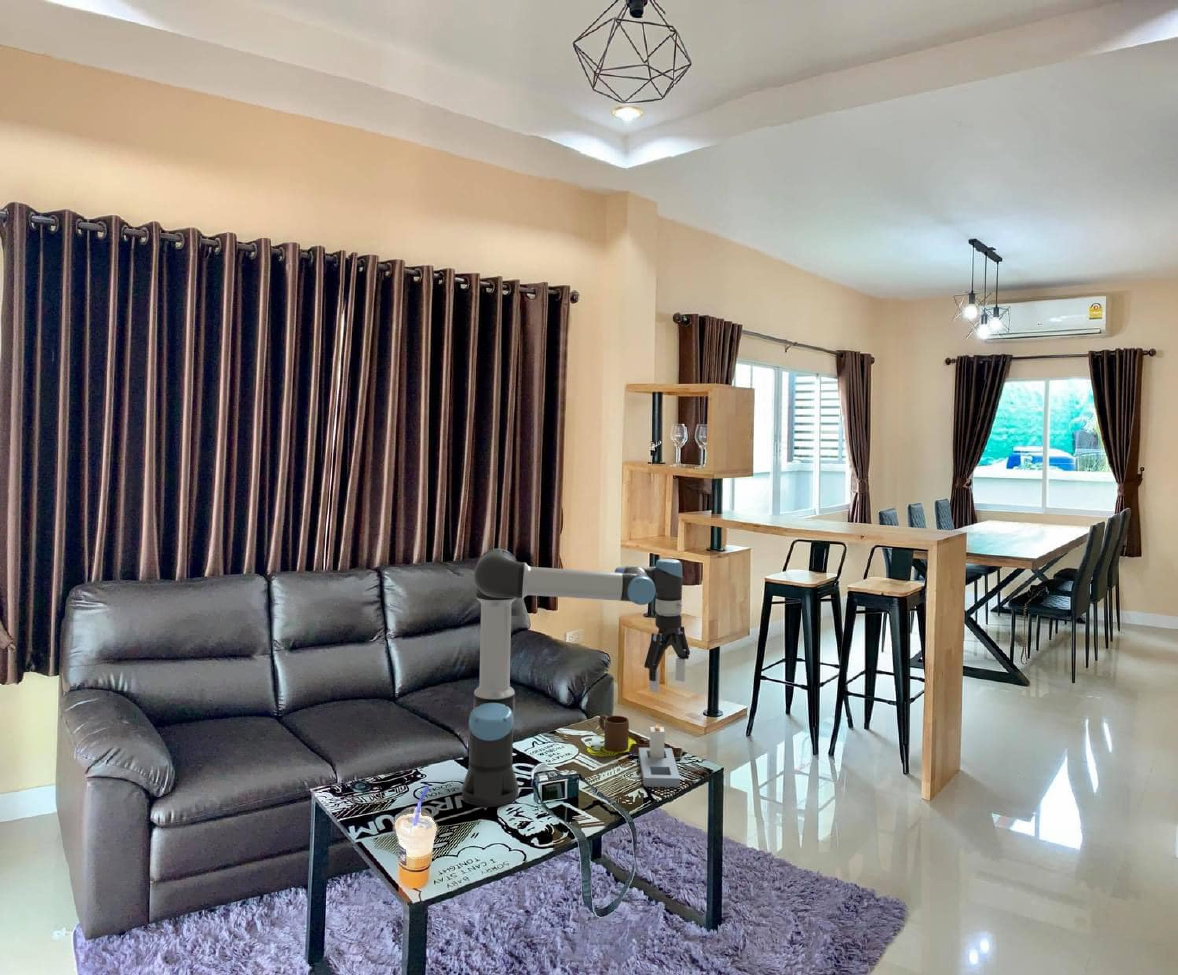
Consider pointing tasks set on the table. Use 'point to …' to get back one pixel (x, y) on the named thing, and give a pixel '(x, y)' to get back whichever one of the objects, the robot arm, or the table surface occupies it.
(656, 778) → the panel
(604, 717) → the mug
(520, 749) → the table surface
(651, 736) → the plug
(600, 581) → the robot arm
